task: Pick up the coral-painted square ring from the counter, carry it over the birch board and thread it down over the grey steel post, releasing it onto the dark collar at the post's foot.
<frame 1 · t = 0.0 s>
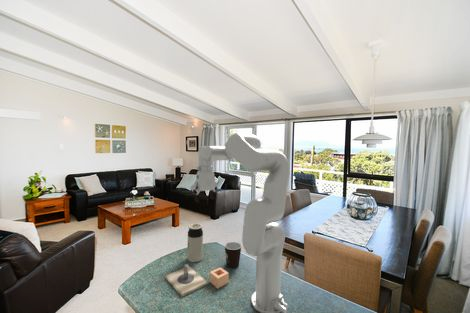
hand: (204, 200, 115), 31 cm above the counter, fingers open, 9 cm apart
post stand: (185, 281, 95), on the counter
ring: (219, 282, 94), on the counter
coffee mug: (232, 263, 110), on the counter
travel mug: (195, 259, 114), on the counter
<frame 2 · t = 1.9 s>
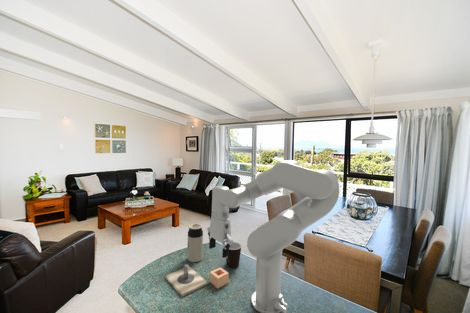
hand: (218, 252, 94), 14 cm above the counter, fingers open, 9 cm apart
nothing on the counter moved.
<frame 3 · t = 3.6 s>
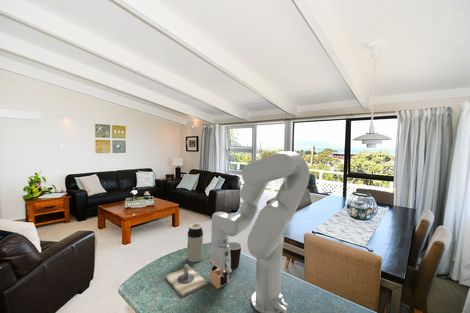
hand: (219, 279, 94), 1 cm above the counter, fingers closed on ring, 6 cm apart
ring: (219, 282, 94), on the counter, touching gripper
everything else where it was.
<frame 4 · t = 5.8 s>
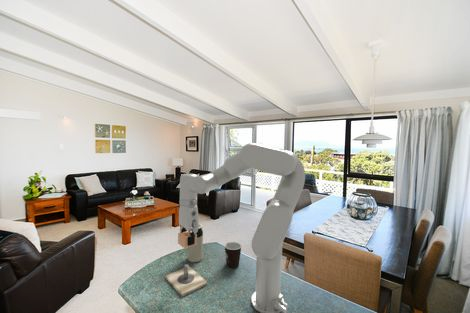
hand: (187, 241, 94), 18 cm above the counter, fingers closed on ring, 6 cm apart
ring: (187, 243, 94), point 17 cm above the counter, touching gripper
everything else where it was.
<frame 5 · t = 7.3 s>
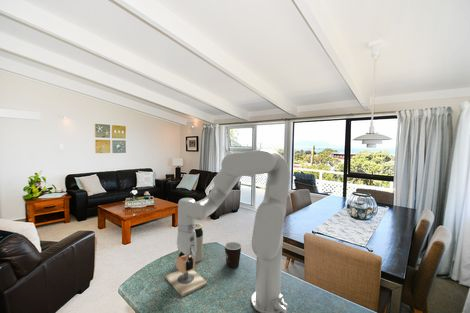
hand: (185, 265, 94), 7 cm above the counter, fingers closed on ring, 6 cm apart
ring: (185, 268, 94), point 6 cm above the counter, touching gripper
everything else where it was.
when the fingers open (4 cm above the counter, at t = 8.2 s): ring drops 2 cm, resting on post stand.
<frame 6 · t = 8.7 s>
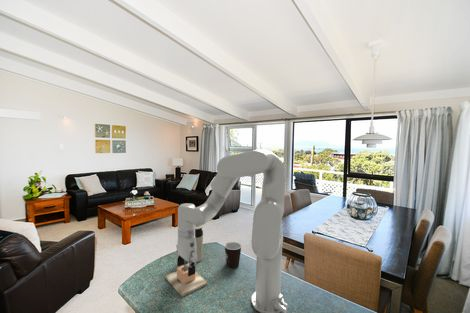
hand: (186, 269, 94), 5 cm above the counter, fingers open, 9 cm apart
ring: (186, 278, 95), point 1 cm above the counter, touching post stand
everything else where it was.
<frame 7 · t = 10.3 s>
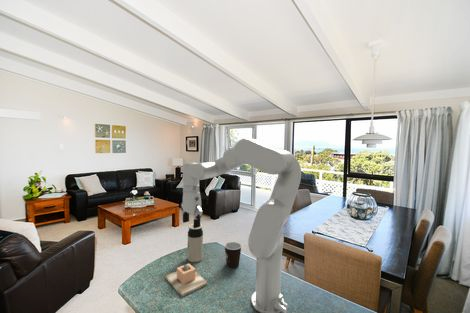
hand: (191, 224, 100), 23 cm above the counter, fingers open, 9 cm apart
nothing on the counter moved.
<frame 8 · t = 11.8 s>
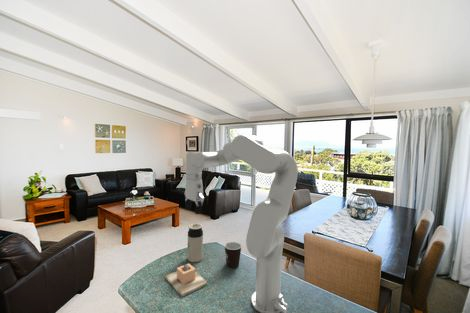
hand: (193, 211, 105), 28 cm above the counter, fingers open, 9 cm apart
nothing on the counter moved.
at the end: ring 0.1 cm off-centre on the post stand, point 1.4 cm above the post stand's base; the gripper is holding nothing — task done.
